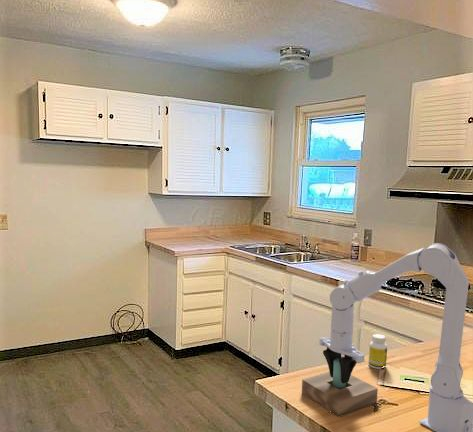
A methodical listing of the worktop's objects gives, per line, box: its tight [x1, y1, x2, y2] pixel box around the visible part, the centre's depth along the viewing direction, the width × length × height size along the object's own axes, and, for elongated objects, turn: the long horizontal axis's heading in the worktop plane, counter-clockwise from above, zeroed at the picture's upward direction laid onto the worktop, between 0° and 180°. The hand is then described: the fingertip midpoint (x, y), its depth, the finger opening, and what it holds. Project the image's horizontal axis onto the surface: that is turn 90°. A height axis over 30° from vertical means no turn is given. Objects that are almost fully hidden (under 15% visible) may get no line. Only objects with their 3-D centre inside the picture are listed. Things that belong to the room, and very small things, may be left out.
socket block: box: [301, 371, 379, 417], centre depth 123 cm, size 14×14×4 cm
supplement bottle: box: [368, 333, 388, 370], centre depth 144 cm, size 5×5×10 cm
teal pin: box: [333, 358, 346, 390], centre depth 123 cm, size 4×4×8 cm
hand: (339, 379), depth 123 cm, fingers closed on teal pin, 3 cm apart
